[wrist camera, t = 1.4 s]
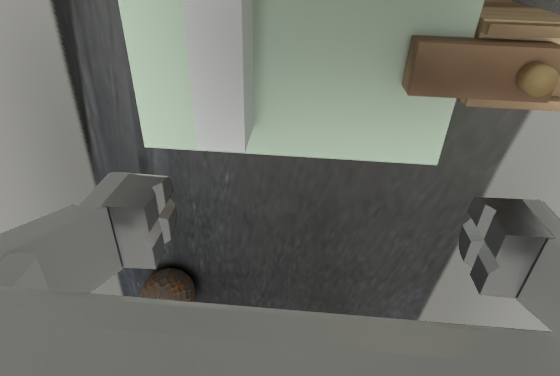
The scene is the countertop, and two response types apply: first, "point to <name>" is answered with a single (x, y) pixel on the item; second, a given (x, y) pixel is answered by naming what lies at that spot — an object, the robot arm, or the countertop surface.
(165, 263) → the countertop surface
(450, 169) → the countertop surface
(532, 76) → the wooden knobbed block
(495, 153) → the countertop surface
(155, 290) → the vase
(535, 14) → the toolbox
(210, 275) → the countertop surface
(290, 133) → the lid
